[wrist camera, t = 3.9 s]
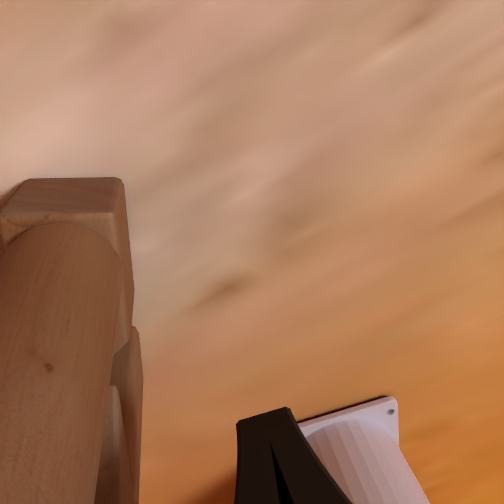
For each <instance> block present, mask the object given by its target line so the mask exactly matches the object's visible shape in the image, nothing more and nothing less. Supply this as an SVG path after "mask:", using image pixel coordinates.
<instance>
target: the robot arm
mask: <svg viewBox="0 0 504 504" xmlns="http://www.w3.org/2000/svg"><path fill="white" fill-rule="evenodd" d="M236 430H237V478H236V489H235V500H234V504H430V502H429V501H428V499H427V497H426V495H425V493H424V492H423V490H422V488H421V486H420V485H419V483H418V481H417V479H416V477H415V476H414V474H413V472H412V470H411V469H410V467H409V465H408V463H407V461H406V460H405V458H404V456H403V454H402V453H401V451H400V449H399V433H398V403H397V401H396V399H395V398H394V397H392V396H388V397H384V398H381V399H378V400H374V401H371V402H368V403H364V404H361V405H358V406H355V407H351V408H348V409H345V410H341V411H338V412H335V413H331V414H328V415H325V416H322V417H318V418H315V419H312V420H308V421H305V422H302V423H298V424H297V422H296V420H295V418H294V416H293V414H292V412H291V409H290V408H287V407H283V408H279V409H276V410H273V411H269V412H266V413H262V414H259V415H256V416H252V417H249V418H246V419H242V420H239V421H238V423H237V424H236Z"/></svg>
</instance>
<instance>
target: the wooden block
mask: <svg viewBox="0 0 504 504" xmlns="http://www.w3.org/2000/svg"><path fill="white" fill-rule="evenodd" d="M0 236H1V240H2V243H3V247H4V251H5V254H4V255H3V257H2V258H1V260H0V504H139V479H140V452H141V426H142V399H143V371H142V361H141V351H140V341H139V333H138V331H137V330H136V328H135V327H133V326H131V325H132V313H133V301H134V282H133V272H132V262H131V252H130V242H129V232H128V222H127V212H126V202H125V192H124V184H123V182H122V181H121V179H118V178H115V177H103V178H42V179H28V180H26V181H24V182H23V183H22V184H21V185H20V187H19V188H18V189H17V190H16V192H15V193H14V194H13V195H12V197H11V198H10V199H9V200H8V201H7V203H6V204H5V205H4V206H3V208H2V209H1V210H0Z"/></svg>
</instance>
